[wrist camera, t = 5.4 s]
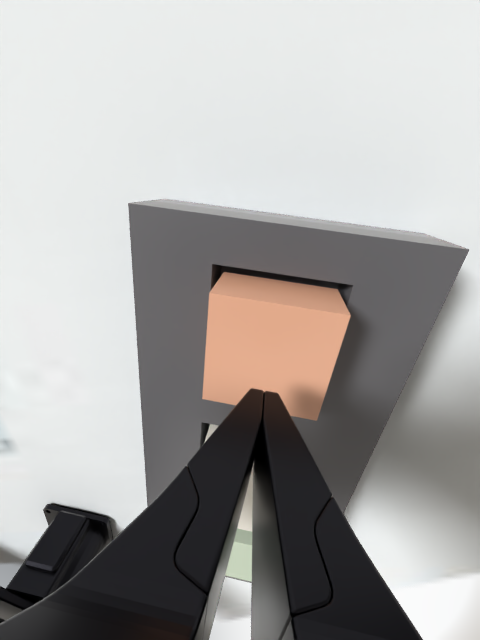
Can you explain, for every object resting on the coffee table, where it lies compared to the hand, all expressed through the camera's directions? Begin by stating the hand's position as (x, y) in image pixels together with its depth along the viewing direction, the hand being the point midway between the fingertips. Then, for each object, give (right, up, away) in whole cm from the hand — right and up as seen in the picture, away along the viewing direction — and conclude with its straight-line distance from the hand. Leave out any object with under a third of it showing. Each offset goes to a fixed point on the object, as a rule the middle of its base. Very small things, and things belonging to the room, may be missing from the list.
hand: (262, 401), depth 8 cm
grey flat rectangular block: (0, -4, +10) cm, 11 cm away
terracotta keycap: (+1, +2, +4) cm, 4 cm away
